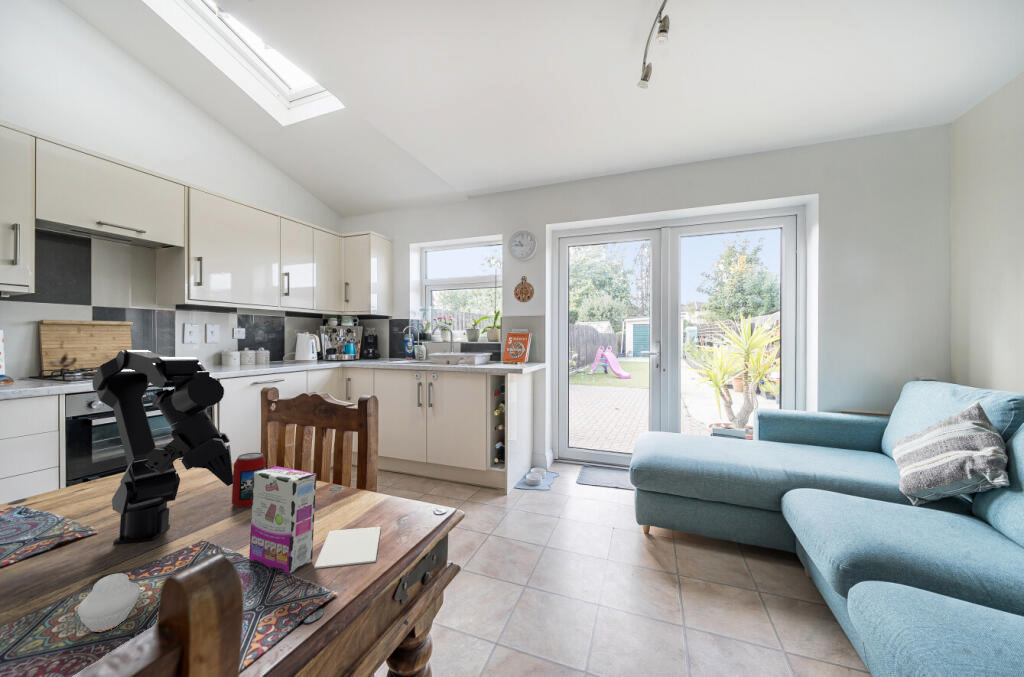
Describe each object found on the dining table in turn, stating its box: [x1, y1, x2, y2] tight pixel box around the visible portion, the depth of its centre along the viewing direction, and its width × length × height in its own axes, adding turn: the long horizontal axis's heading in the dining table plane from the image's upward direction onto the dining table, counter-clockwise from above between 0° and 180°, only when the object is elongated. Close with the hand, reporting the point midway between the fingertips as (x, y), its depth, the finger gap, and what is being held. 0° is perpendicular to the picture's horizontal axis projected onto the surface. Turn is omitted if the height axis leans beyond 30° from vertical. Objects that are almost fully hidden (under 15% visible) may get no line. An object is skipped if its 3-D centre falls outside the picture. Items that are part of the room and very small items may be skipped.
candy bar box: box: [248, 465, 317, 575], centre depth 71 cm, size 11×5×16 cm, turn 68°
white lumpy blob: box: [76, 572, 141, 631], centre depth 54 cm, size 6×6×7 cm
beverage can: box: [231, 452, 267, 508], centre depth 96 cm, size 7×7×12 cm
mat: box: [314, 526, 382, 569], centre depth 77 cm, size 10×14×1 cm
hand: (230, 484), depth 77 cm, fingers closed
